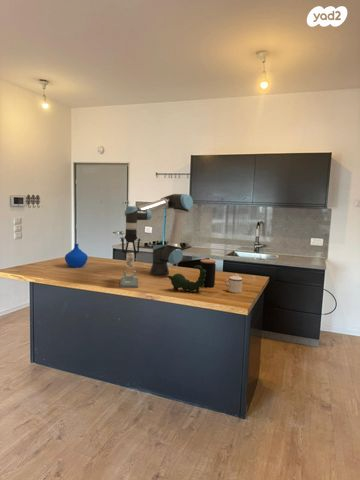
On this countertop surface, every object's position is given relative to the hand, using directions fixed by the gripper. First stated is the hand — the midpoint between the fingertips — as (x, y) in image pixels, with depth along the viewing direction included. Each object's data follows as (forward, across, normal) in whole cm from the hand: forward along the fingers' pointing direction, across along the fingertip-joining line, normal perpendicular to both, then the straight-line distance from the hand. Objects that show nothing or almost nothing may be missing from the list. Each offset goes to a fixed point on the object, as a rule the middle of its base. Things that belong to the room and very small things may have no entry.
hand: (130, 262), depth 228 cm
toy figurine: (+15, -37, +18) cm, 43 cm away
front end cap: (+13, 0, +9) cm, 16 cm away
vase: (+15, +46, -58) cm, 75 cm away
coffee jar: (+15, -54, +4) cm, 56 cm away
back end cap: (+13, 0, -9) cm, 16 cm away
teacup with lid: (+15, -69, +17) cm, 72 cm away
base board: (+15, 0, 0) cm, 15 cm away
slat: (+1, 0, 0) cm, 1 cm away
